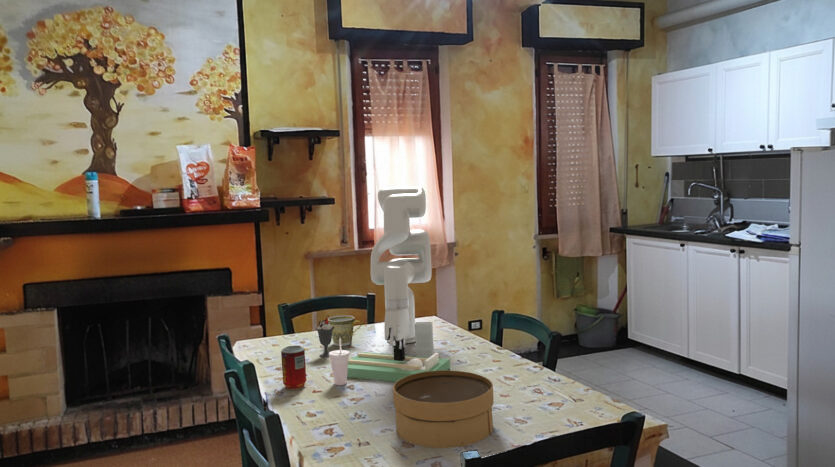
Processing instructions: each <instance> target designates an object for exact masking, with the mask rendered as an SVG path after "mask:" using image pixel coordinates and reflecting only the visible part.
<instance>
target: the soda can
mask: <svg viewBox="0 0 835 467" xmlns="http://www.w3.org/2000/svg"><path fill="white" fill-rule="evenodd" d="M280 352H281V354H280V355H281V356H280V357H281V370H282V382H283V385H284V388H285V389H286V390H290V391H291V390H292V391H293V390H294V391H295V390H302V389H303V388H304V387H305V385H306V383H307V370H306V365H307V364H306V355H305V354H306V351H305V348H304V347H303V346H301V345H289V346H286V347H284V348H282V349H281V351H280Z"/></svg>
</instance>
